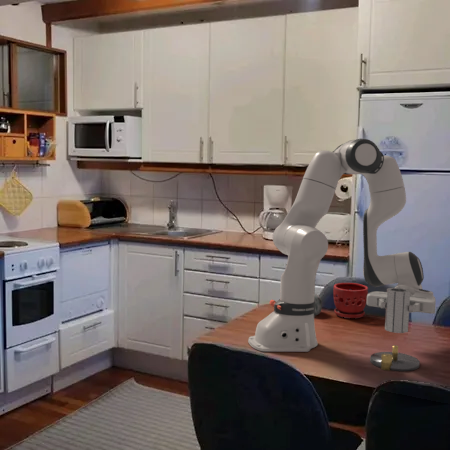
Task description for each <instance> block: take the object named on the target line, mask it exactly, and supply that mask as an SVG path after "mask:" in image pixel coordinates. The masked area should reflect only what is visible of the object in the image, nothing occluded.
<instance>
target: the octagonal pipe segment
mask: <svg viewBox="0 0 450 450" xmlns="http://www.w3.org/2000/svg"><path fill="white" fill-rule="evenodd" d="M386 292H387V297H386V309H385V318H384V319H385V321H384V330H385V331H386V332H390V333H394V334H395V333H396V334H405V333H408V332H409V321H410V312H409V304H410V290H407V289H403V288H402V289H401V288H395V287H388V288H386Z"/></svg>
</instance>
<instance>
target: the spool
mask: <svg viewBox="0 0 450 450" xmlns="http://www.w3.org/2000/svg"><path fill="white" fill-rule="evenodd" d="M314 301H315V307H316V311H315V316H318V315H320V313H321V312H322V309H323V301H322V299H321V297H320V296H319V295H318V294H316V293H315V294H314Z"/></svg>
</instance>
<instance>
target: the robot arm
mask: <svg viewBox="0 0 450 450" xmlns="http://www.w3.org/2000/svg"><path fill="white" fill-rule="evenodd" d="M343 175H345V176H346V175H362V176H363V177H364V178H365V179H366V182H367V185H368V190H369V195H370V197H369V198H370V200H369V206H368V208H367V209H365V210H364V213H363V219H362V221H363V222H362V224H363V225H362V230H363V232H362V235H363V240H362V241H363V243H362V244H363V267H362V275H363V278H364V281H365V282H366V283H367V284H368V285H370V286H372V287H374V288H378V287H383V286H387V285H393V284H396V286H395V287H394V288H401V289H402V288H403V289H407V290H410V304H409V313H410V314H411V313H422V314H423V313H424V314H432V315H433V314H435V313H436V306H437V305H436V303H437V301H436V296H434V292H433V291H431V290H427V289H423V286H422V283H423V281H424V278H425V277H424V270H423V265H422V262H421V260H420V258H419V257H418V256H417V255H416V254H415V253H413V251H404V252H397V253H393V254H385V255H378V247H377V246H378V245H377V244H378V239H377V234H378V233H377V231H378V228H379V227H380V226H381V225H382V224H383V223H385V222H387V221H388V220H390V219H392V218H393V217H395V216H397V215H398V214H399V213H400V212H401V211H402V210H403V209H404V208H405V205H406V203H407V194H406V193H407V192H406V187H405V183H404V179H403V175H402V173H401V170H400V167H399V165H398V162H397V161H396V159H395V157H393V156H390V155H384V154H383V152H382V151H381V150H380V149H379V147H378V146H377V143H375V142H373V141H372V140H370V139H367V138H357V139H352V140H348V141H345V142H344V143H342V144H340V145H339V146H337V147H336V148H335V149H334V150H333V151H330V150H319V151H317V152H316V153H314V155H313V157H312V158H311V160H310V162H309V164H308V166H307V167H306V170H305V172H304V175H303V177H302V180H301V183H300V185H299V189H298V191H297V195H296V197H295V200H294V201H293V204H292V205H291V207H290V209H289V211H288V213H287V214H286V216H285V217H284V219H283V221H282V222H281V223H280V224H279V225H278V226H277V227H276V228H275V229H274V231H273V234H272V242H273V244H274V246H275V247H276V249H277V250H279V252H281V253H282V254H284V255H286V256H287V262H286V266H285V269H284V271H283V272H282V273H281V275H280V285H279V287H280V289H279V291H280V293H279V299H278V300H277V301H276V300H274V299H270V301H269V306H271V307H272V308H273V311H272V312H270V314H269V315H267V316H265V317H263V319H262V320H260V321H259V322H258V323H257V325H256V328H255V333H254V335H252V336H249V337H248V340H247V342H248V344H249V345H250V346H251V347H252V348H253V349H255V350H257V351H259V352H278V353H279V352H284V353H285V352H302V353H303V352H305V353H307V352H310V351H311V349H314V348H315V347H317V346H318V340H317V335H316V328H315V327H316V325H315V317H316V315H315V311H316V307H315V301H314V294H316V292H315V291H316V290H315V289H316V288H315V287H316V278H317V273H318V269H319V266H320V263H321V260H322V258H324V257H325V256H326V254H327V252H328V250H329V249H328V248H329V241H328V238H327V236H326V234H324V233H323V231H321V230H319V229H318V228H316V227H317V225H318V223H319V222H320V221H321V220H322V219H323V218H324V216H326V215H327V214H328V213H329V209H330V206H331V204H332V201H333V199H334V195H335V193H336V190H337V187H338V184H339V181H340V179H341V178H342V176H343ZM386 297H387V291H377V290H376V291H371V292H368V294H367V302H366V305H367V306H368V307H375V308H380V309H385V310H386Z"/></svg>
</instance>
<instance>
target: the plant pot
mask: <svg viewBox="0 0 450 450" xmlns="http://www.w3.org/2000/svg"><path fill="white" fill-rule="evenodd" d="M332 291H333V303H334V306H335V308H334V313H335V315H336V316H338V317H341V318H343V317H344V319H350V318H355V319H359V318H363V317H364V315H365V314H366V312H365V311H364V309H365V308H366V305H367V294H369V287H368V286H367V285H365V284H364V285H363V284H360V283H356V282H338V283H335V284H334V285H333V290H332Z"/></svg>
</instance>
